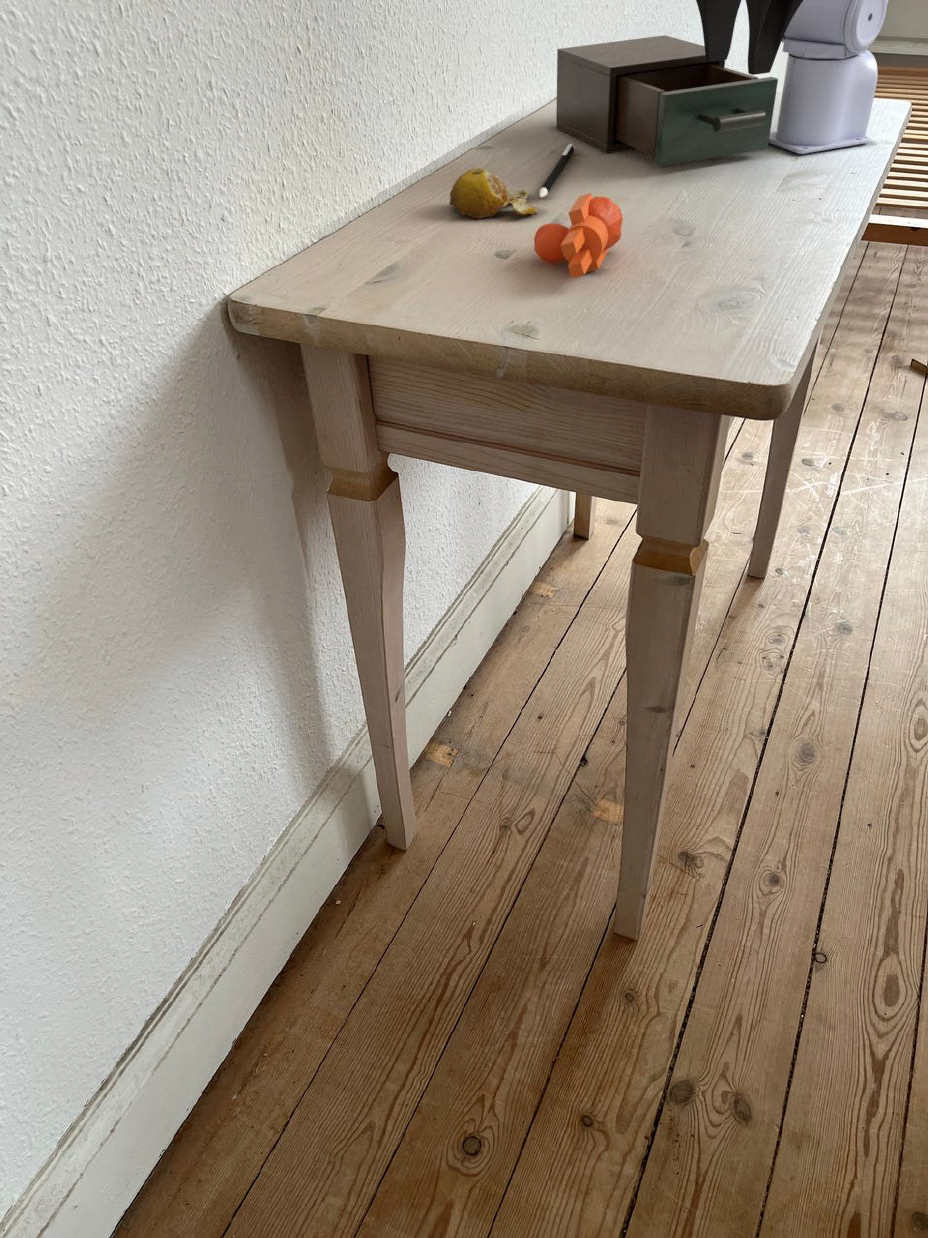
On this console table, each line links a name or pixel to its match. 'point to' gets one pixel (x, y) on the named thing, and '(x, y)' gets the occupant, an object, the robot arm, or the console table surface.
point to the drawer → (693, 112)
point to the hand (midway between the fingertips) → (737, 66)
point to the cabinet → (610, 82)
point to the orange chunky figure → (581, 235)
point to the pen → (557, 170)
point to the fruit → (486, 195)
